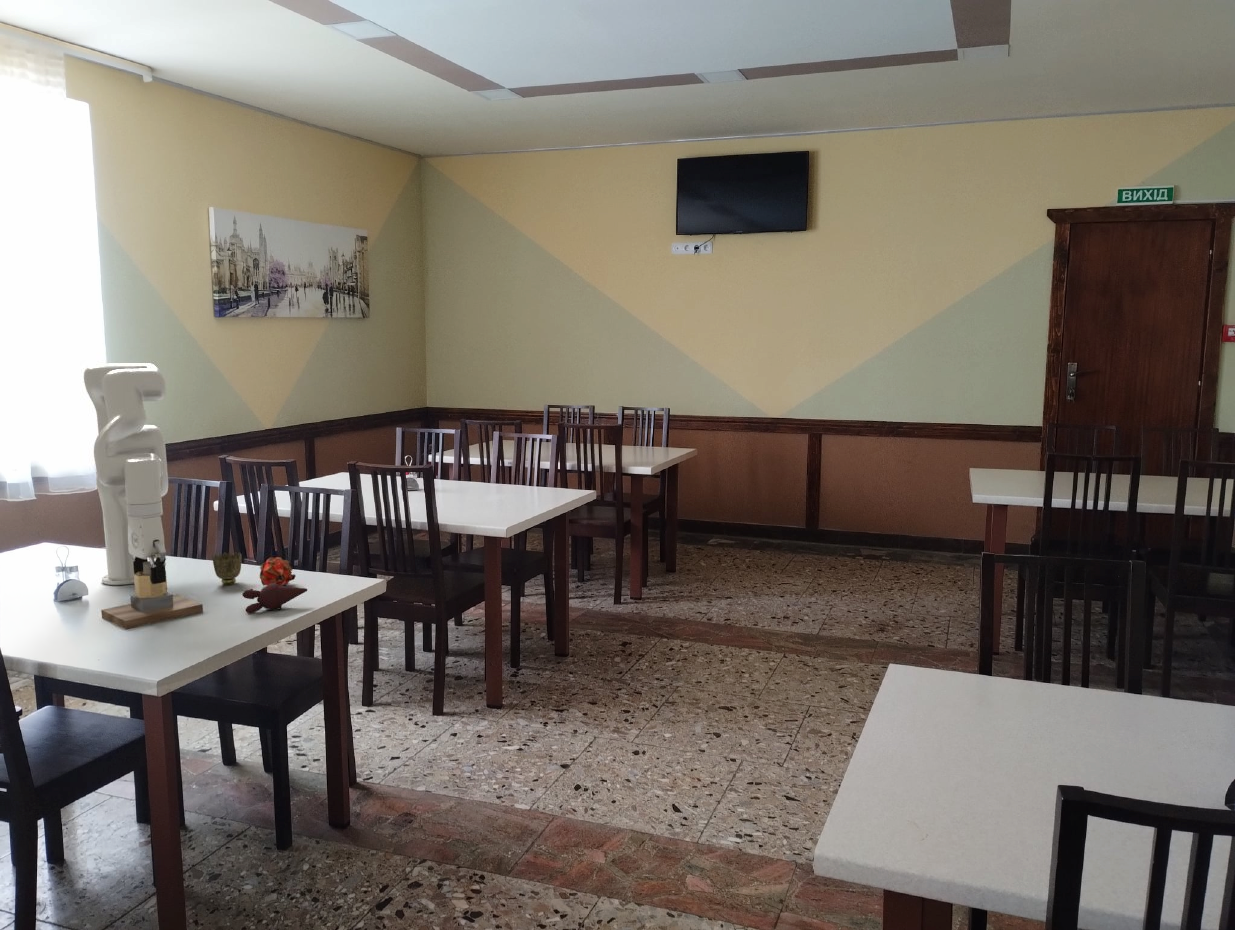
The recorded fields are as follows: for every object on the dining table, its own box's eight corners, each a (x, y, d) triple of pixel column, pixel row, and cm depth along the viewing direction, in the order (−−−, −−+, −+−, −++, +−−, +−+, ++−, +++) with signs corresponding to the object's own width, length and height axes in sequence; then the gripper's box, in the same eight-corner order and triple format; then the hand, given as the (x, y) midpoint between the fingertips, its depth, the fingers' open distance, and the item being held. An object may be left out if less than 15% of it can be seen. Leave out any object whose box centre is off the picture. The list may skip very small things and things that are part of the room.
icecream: (302, 576, 240) (240, 589, 233) (306, 575, 233) (242, 588, 226) (307, 603, 239) (245, 616, 233) (312, 603, 233) (247, 617, 226)
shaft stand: (101, 617, 227) (97, 564, 225) (177, 601, 240) (173, 551, 239) (125, 629, 218) (121, 574, 216) (203, 612, 231) (199, 559, 229)
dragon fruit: (275, 586, 261) (284, 603, 251) (248, 572, 256) (256, 588, 246) (294, 560, 261) (303, 576, 251) (267, 546, 257) (275, 561, 247)
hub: (132, 595, 228) (130, 573, 227) (159, 589, 233) (157, 567, 232) (143, 600, 224) (141, 577, 223) (171, 594, 229) (169, 572, 228)
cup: (248, 580, 261) (246, 552, 260) (235, 587, 254) (233, 558, 252) (222, 580, 262) (220, 551, 260) (208, 587, 254) (206, 558, 253)
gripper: (113, 507, 228) (119, 576, 231) (144, 516, 217) (149, 589, 220) (145, 503, 234) (150, 570, 236) (176, 511, 223) (181, 582, 225)
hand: (150, 579), depth 228 cm, fingers open, 9 cm apart
